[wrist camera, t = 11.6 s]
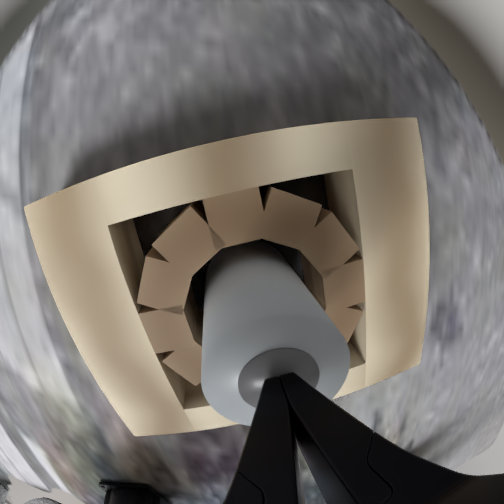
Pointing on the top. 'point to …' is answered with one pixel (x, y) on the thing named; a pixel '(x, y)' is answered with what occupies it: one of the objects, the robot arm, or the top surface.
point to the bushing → (263, 331)
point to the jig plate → (233, 233)
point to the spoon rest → (38, 503)
